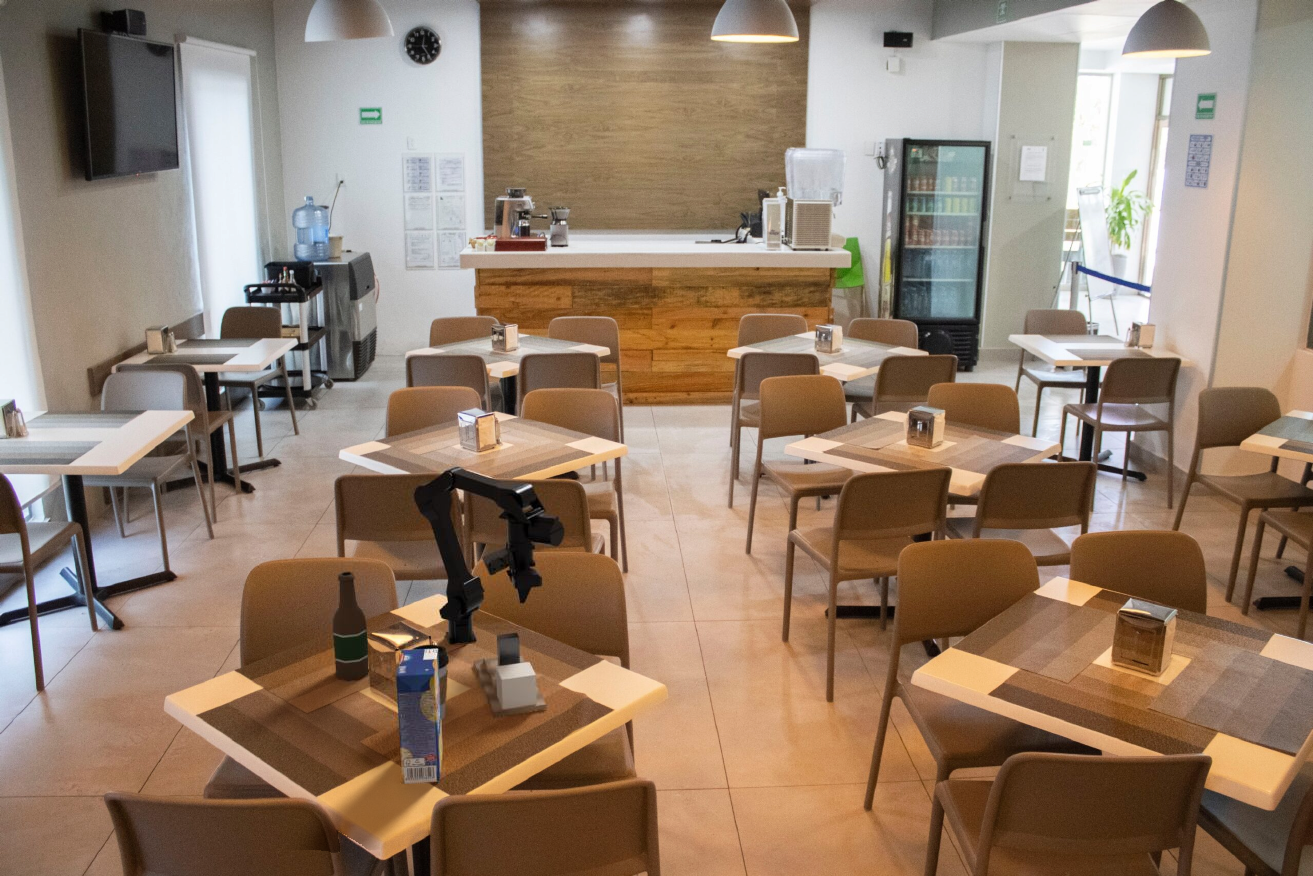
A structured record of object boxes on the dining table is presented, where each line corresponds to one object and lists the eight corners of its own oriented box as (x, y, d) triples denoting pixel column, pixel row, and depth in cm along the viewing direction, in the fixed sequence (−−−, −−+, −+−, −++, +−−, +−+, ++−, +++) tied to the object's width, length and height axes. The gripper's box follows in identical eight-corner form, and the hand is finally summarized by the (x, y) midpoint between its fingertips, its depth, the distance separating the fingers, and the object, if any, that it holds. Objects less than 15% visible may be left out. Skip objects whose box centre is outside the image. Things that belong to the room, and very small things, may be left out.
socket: (497, 695, 237) (496, 666, 235) (530, 690, 239) (529, 661, 238) (502, 709, 231) (501, 679, 230) (536, 704, 234) (535, 674, 232)
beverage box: (442, 751, 218) (437, 648, 212) (439, 781, 207) (434, 674, 202) (407, 753, 217) (401, 649, 211) (402, 784, 206) (395, 676, 201)
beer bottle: (375, 666, 253) (369, 567, 246) (363, 682, 245) (356, 581, 239) (342, 664, 253) (335, 566, 247) (329, 680, 246) (322, 579, 240)
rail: (474, 665, 253) (473, 655, 253) (521, 659, 257) (521, 648, 256) (494, 717, 230) (494, 706, 230) (546, 709, 234) (546, 698, 233)
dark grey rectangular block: (498, 681, 243) (496, 635, 240) (518, 678, 244) (516, 632, 241) (506, 701, 234) (505, 653, 231) (527, 698, 235) (526, 651, 233)
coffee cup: (429, 731, 225) (425, 663, 221) (401, 718, 230) (397, 652, 226) (459, 715, 231) (457, 649, 228) (432, 702, 236) (429, 638, 233)
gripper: (478, 529, 258) (481, 591, 262) (491, 556, 241) (493, 623, 245) (526, 524, 261) (527, 586, 265) (541, 551, 244) (543, 617, 248)
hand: (522, 602), depth 256 cm, fingers closed
